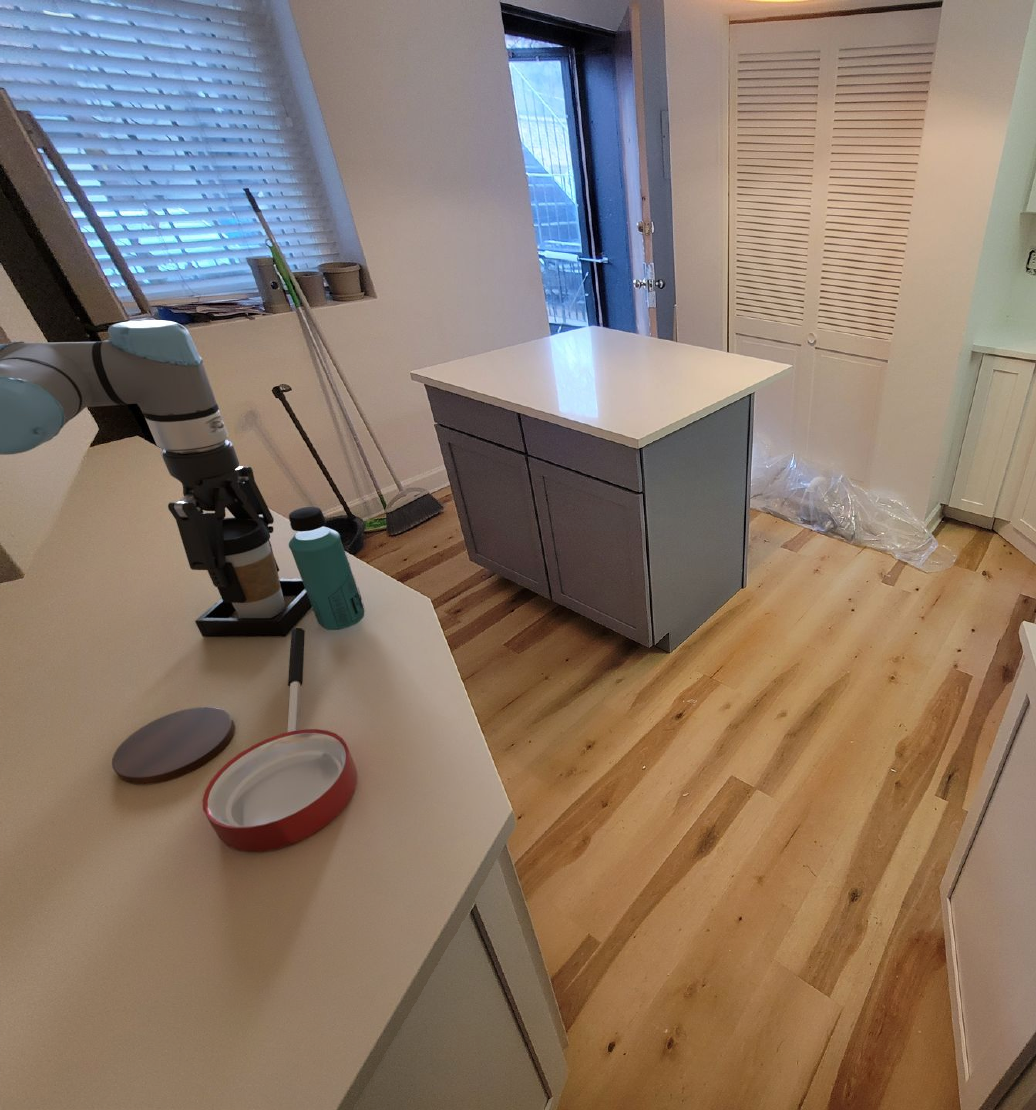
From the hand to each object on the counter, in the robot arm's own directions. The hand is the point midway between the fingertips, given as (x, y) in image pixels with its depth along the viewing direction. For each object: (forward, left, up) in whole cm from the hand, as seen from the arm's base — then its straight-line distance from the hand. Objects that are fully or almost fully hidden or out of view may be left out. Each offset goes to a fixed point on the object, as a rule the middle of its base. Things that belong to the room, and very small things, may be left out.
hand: (252, 585), depth 93 cm
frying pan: (+18, -27, -6) cm, 33 cm away
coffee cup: (0, 0, -5) cm, 5 cm away
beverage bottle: (+13, -3, -6) cm, 15 cm away
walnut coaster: (+5, -27, -5) cm, 28 cm away
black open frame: (0, 0, -6) cm, 6 cm away
